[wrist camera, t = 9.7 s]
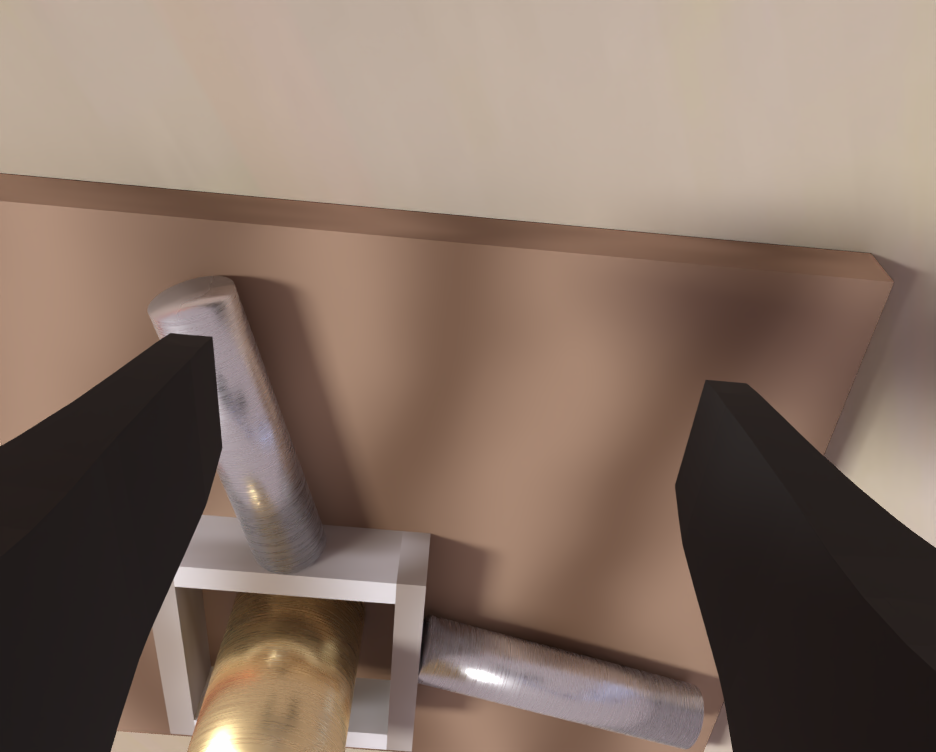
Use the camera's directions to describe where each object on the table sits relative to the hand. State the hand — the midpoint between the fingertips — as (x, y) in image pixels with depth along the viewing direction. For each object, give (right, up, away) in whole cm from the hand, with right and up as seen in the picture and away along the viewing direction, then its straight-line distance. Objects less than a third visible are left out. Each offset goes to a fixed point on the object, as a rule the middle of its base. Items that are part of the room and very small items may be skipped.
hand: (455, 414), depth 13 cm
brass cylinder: (-5, -7, +14) cm, 16 cm away
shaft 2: (+3, -8, +15) cm, 18 cm away
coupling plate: (-2, -4, +14) cm, 15 cm away
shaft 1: (-5, 0, +10) cm, 11 cm away
